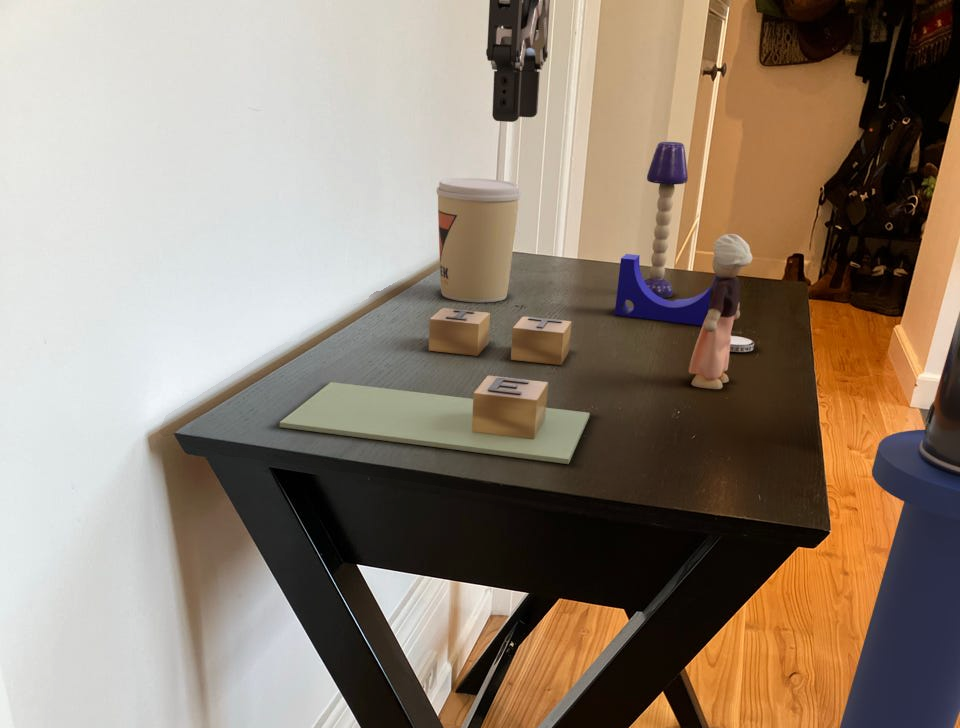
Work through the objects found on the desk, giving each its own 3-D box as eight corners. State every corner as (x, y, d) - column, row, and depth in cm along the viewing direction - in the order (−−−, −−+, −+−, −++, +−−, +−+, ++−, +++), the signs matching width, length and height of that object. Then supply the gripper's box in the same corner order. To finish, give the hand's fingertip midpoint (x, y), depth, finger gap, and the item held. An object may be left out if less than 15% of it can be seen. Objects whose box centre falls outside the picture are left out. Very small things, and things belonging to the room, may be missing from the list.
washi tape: (753, 353, 100) (755, 347, 100) (713, 349, 101) (714, 343, 100) (752, 343, 103) (753, 337, 103) (713, 339, 104) (714, 333, 104)
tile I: (488, 343, 99) (490, 311, 97) (477, 356, 95) (479, 322, 93) (441, 338, 100) (442, 306, 98) (428, 350, 96) (429, 317, 94)
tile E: (545, 419, 79) (548, 380, 77) (534, 439, 75) (537, 398, 73) (485, 412, 79) (487, 373, 78) (471, 431, 75) (473, 391, 74)
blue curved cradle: (727, 319, 113) (736, 263, 110) (722, 328, 109) (732, 270, 106) (622, 306, 116) (629, 251, 113) (614, 314, 112) (620, 258, 109)
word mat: (589, 417, 81) (589, 412, 81) (568, 464, 72) (568, 459, 71) (330, 386, 85) (330, 381, 84) (279, 427, 75) (279, 422, 75)
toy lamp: (663, 300, 120) (684, 145, 111) (627, 294, 122) (645, 141, 113) (677, 294, 123) (698, 143, 115) (642, 288, 125) (660, 139, 117)
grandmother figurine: (692, 369, 94) (715, 225, 88) (733, 375, 93) (759, 230, 87) (681, 392, 88) (704, 239, 82) (725, 398, 87) (752, 243, 81)
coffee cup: (437, 284, 121) (439, 175, 115) (514, 288, 121) (521, 180, 115) (430, 301, 113) (433, 186, 107) (513, 306, 113) (520, 190, 107)
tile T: (568, 352, 98) (571, 319, 96) (560, 365, 94) (563, 331, 92) (520, 347, 98) (522, 314, 97) (510, 359, 94) (512, 326, 93)
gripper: (558, -119, 75) (542, 126, 83) (585, -94, 87) (569, 117, 95) (460, -120, 76) (454, 120, 84) (500, -96, 88) (492, 113, 96)
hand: (515, 118), depth 90 cm, fingers open, 8 cm apart
